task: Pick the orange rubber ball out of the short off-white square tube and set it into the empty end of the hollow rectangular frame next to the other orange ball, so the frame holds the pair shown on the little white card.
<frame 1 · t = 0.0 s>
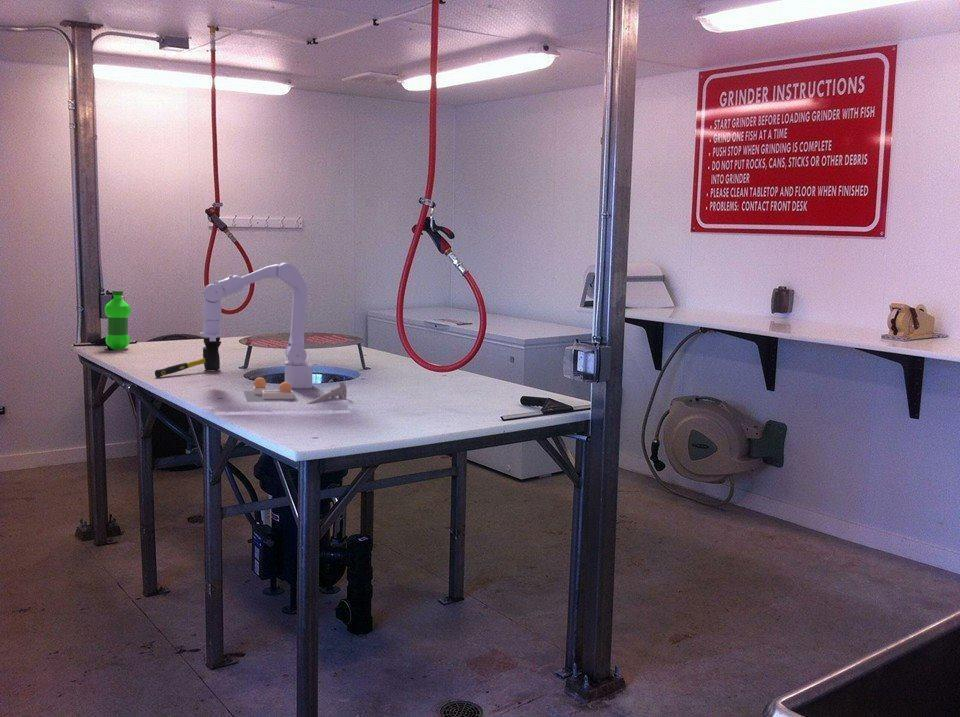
hand: (211, 359, 298), 10 cm above the table, tool pointing down, fingers open, 7 cm apart
hollow rectangular frame: (277, 397, 286), resting on mat
ball: (260, 383, 292), point 4 cm above the table, touching tube a
ball left: (285, 387, 287), point 4 cm above the table, touching hollow rectangular frame
tube a: (259, 393, 292), resting on mat
plastic bottle: (117, 349, 380), on the table
target card: (281, 393, 294), resting on mat
mat: (270, 398, 289), on the table
mallet: (188, 374, 329), on the table
caliper: (325, 404, 288), on the table
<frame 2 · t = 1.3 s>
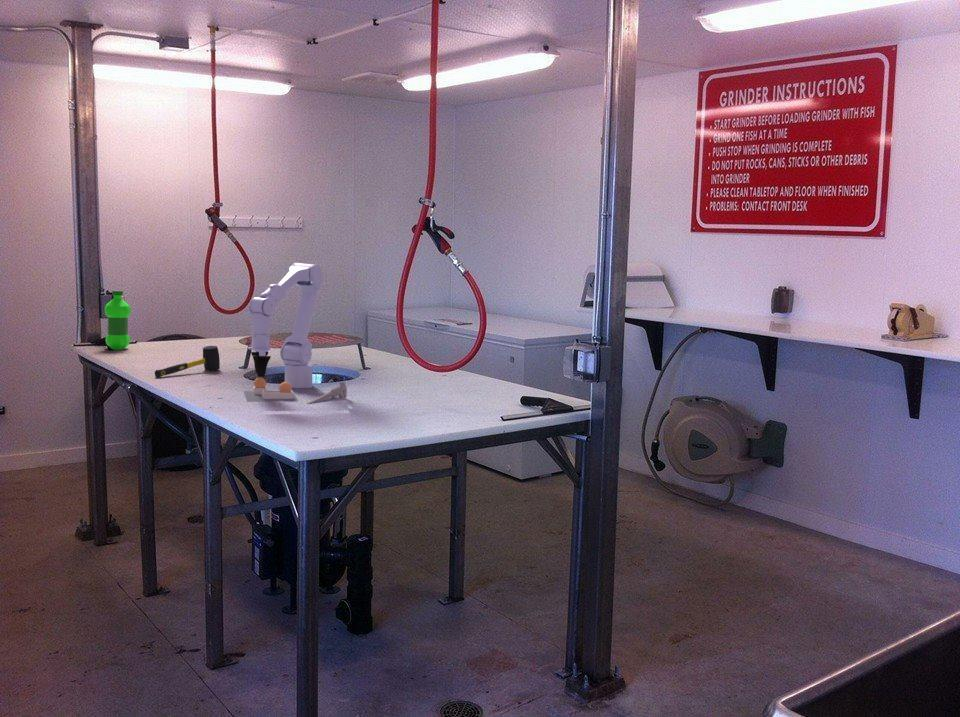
hand: (260, 374, 291), 7 cm above the table, tool pointing down, fingers open, 7 cm apart
nothing on the table moved.
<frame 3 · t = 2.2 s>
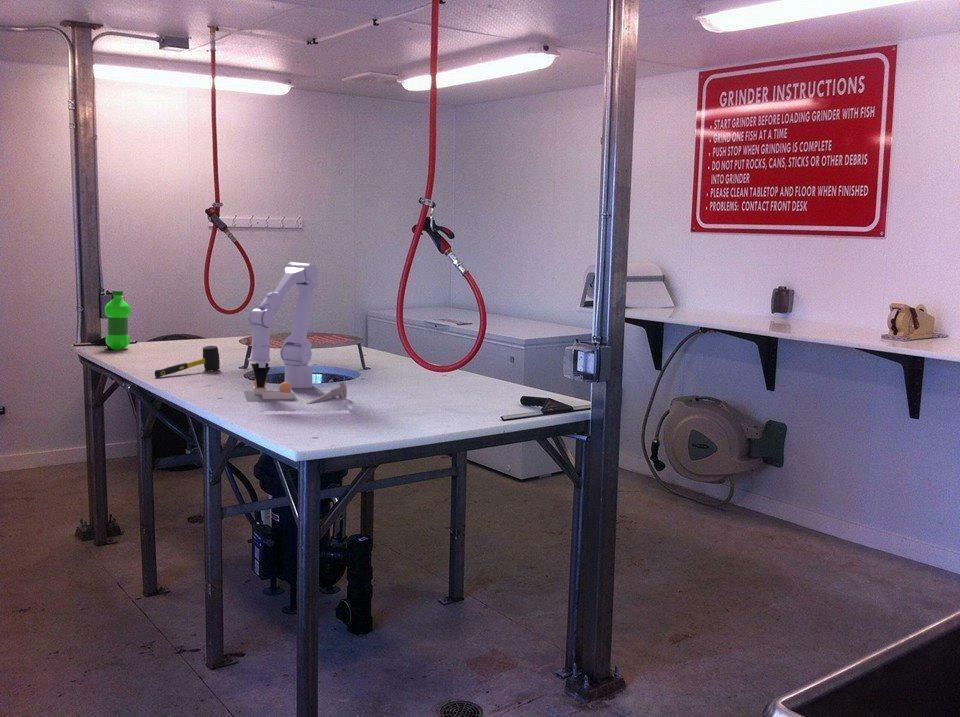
hand: (260, 386, 292), 3 cm above the table, tool pointing down, fingers closed on ball, 4 cm apart
ball: (260, 383, 292), point 4 cm above the table, touching gripper, tube a
everything else where it was.
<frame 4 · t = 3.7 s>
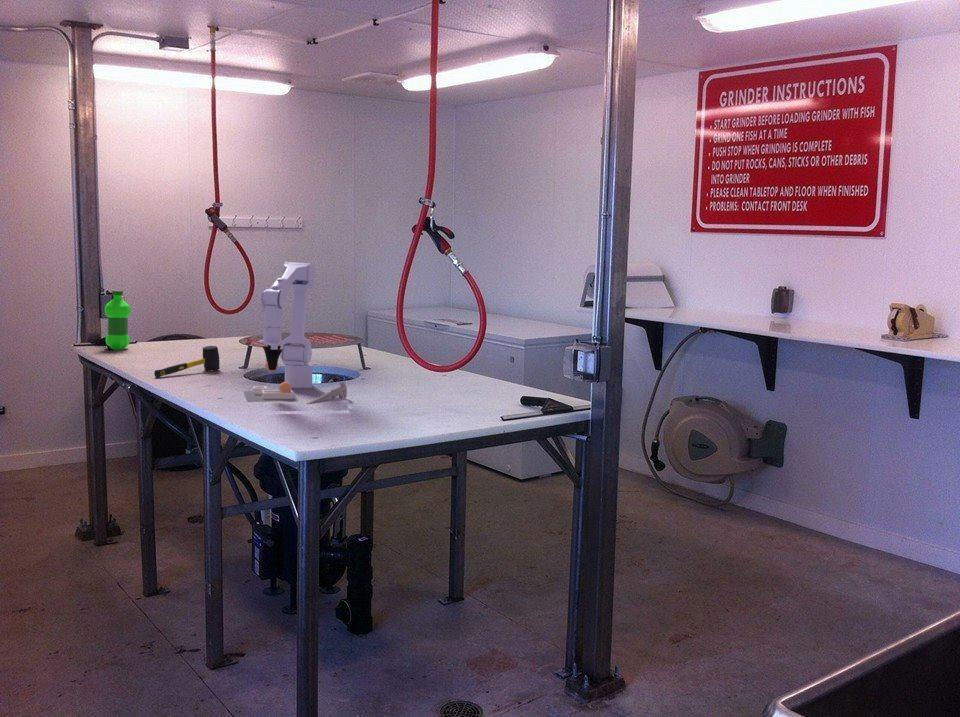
hand: (271, 368, 285), 10 cm above the table, tool pointing down, fingers closed on ball, 4 cm apart
ball: (271, 366, 284), point 11 cm above the table, touching gripper
everything else where it was.
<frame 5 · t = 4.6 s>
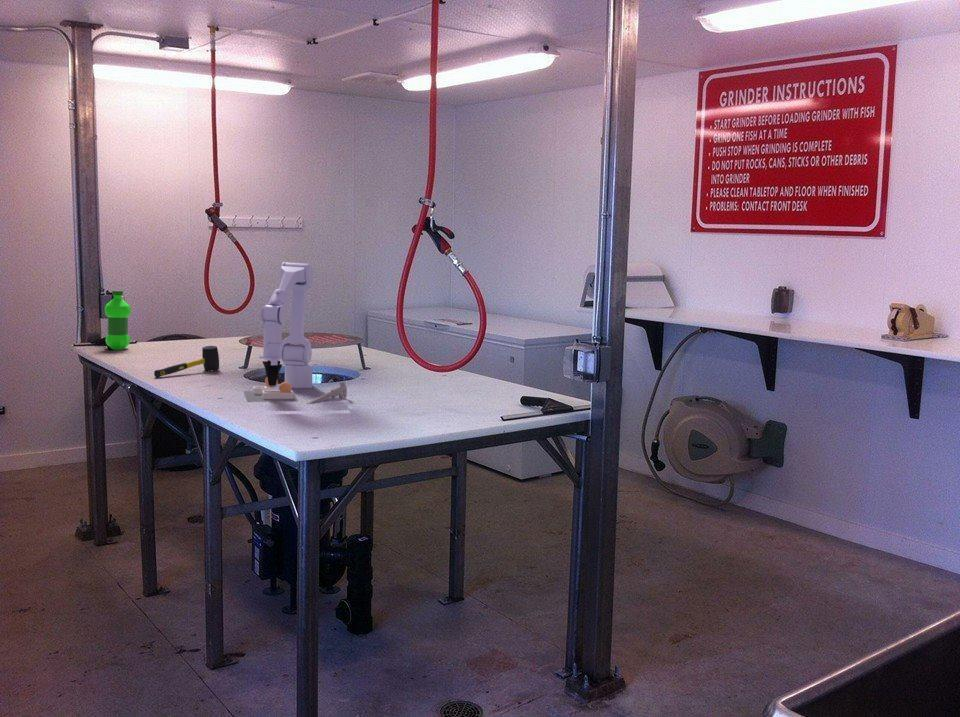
hand: (271, 384, 285), 5 cm above the table, tool pointing down, fingers closed on ball, 4 cm apart
ball: (271, 381, 285), point 6 cm above the table, touching gripper
everything else where it was.
when the fingers open (5 cm above the table, at t = 5.1 s): ball drops 2 cm, resting on hollow rectangular frame.
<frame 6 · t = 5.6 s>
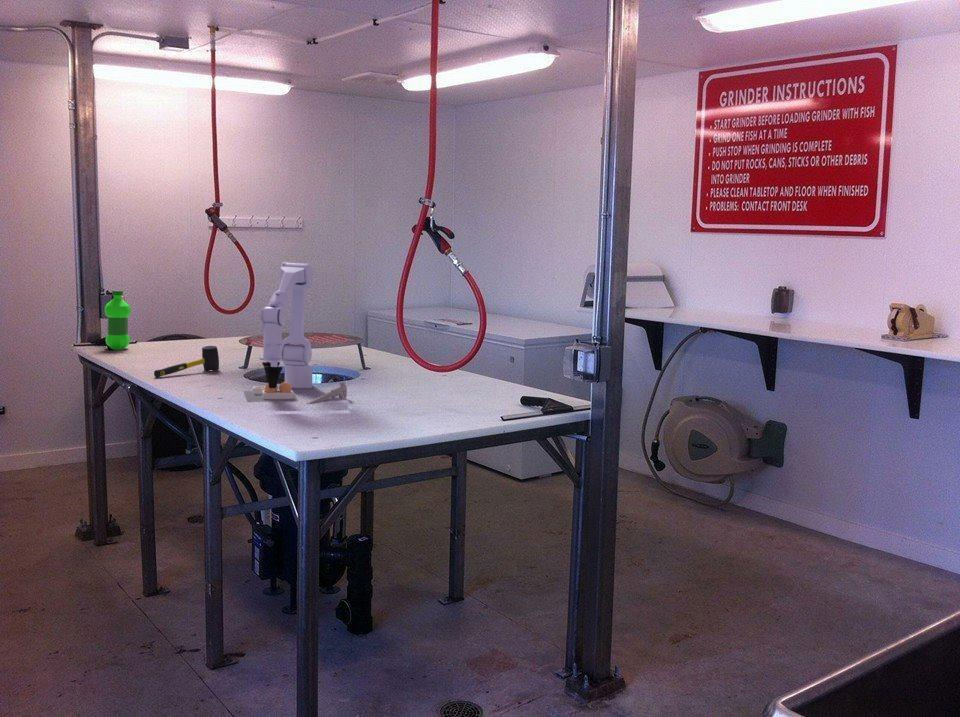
hand: (271, 385, 285), 5 cm above the table, tool pointing down, fingers open, 7 cm apart
ball: (271, 388, 285), point 4 cm above the table, touching hollow rectangular frame
everything else where it was.
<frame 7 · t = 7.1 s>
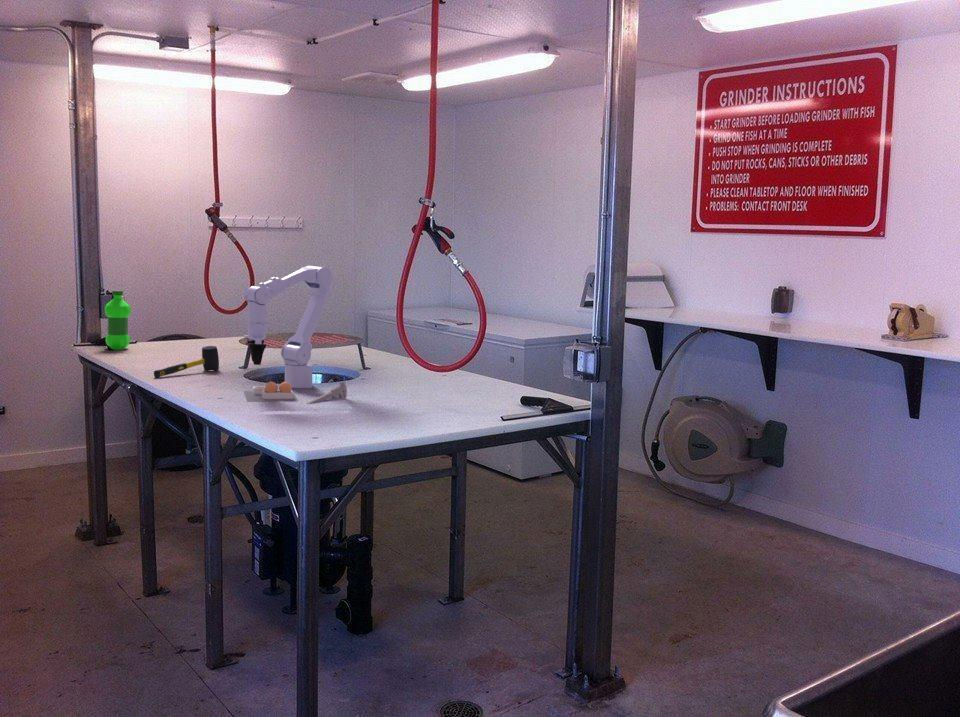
hand: (256, 362, 295), 10 cm above the table, tool pointing down, fingers open, 7 cm apart
nothing on the table moved.
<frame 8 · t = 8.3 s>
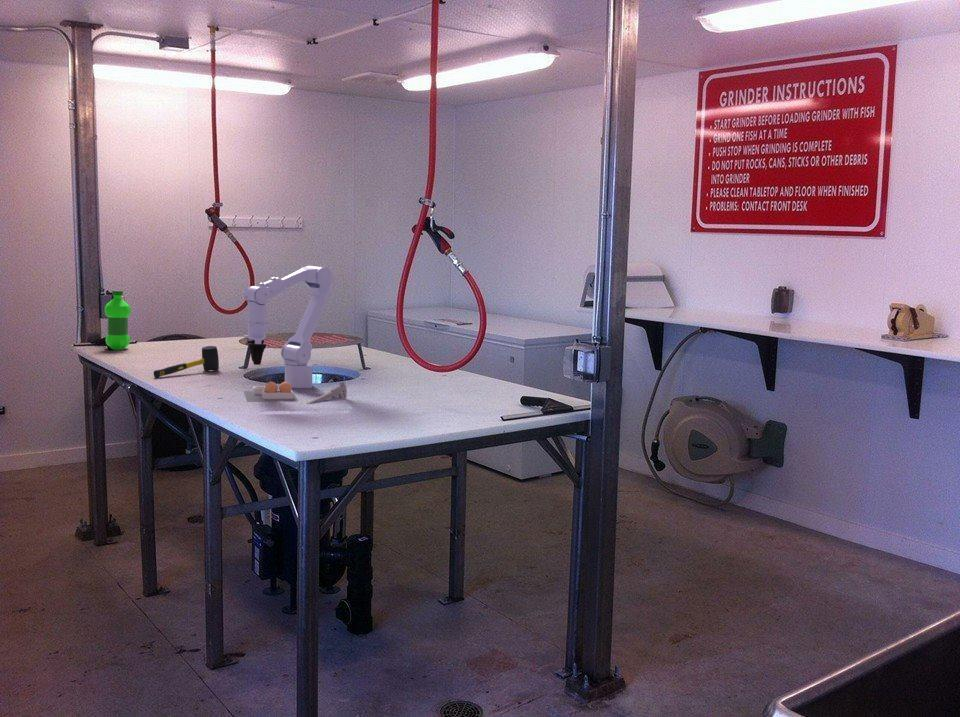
hand: (256, 362, 295), 10 cm above the table, tool pointing down, fingers open, 7 cm apart
nothing on the table moved.
at the end: ball 0.1 cm from the target spot on the hollow rectangular frame, point 3.2 cm above the hollow rectangular frame's base; ball left 0.2 cm from the target spot on the hollow rectangular frame, point 3.2 cm above the hollow rectangular frame's base; the gripper is holding nothing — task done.
